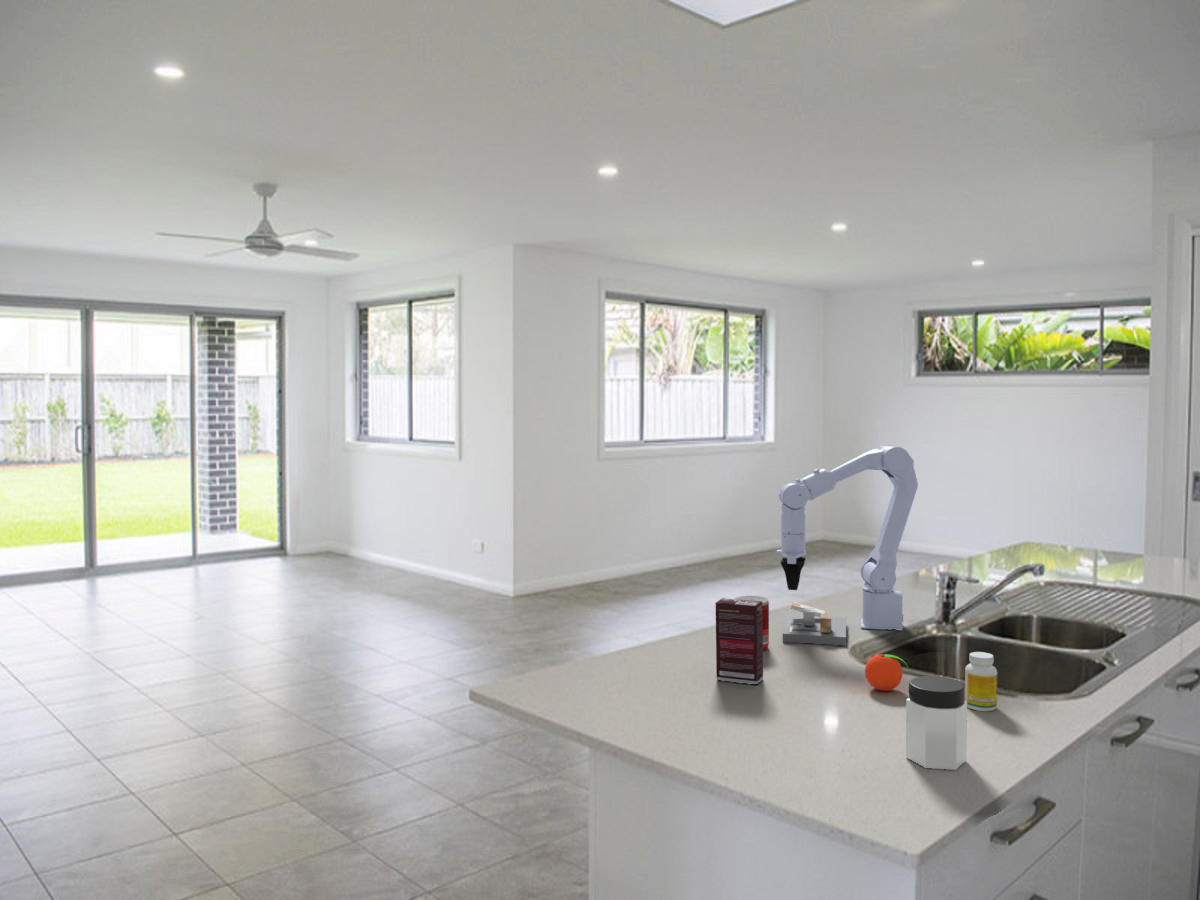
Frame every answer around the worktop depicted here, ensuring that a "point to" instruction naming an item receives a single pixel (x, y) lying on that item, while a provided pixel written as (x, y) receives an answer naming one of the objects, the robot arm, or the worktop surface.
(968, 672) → the supplement bottle
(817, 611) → the block
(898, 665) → the clementine
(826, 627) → the oak slider
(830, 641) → the console
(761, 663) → the supplement box
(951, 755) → the jar
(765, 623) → the canned food
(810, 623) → the steel slider
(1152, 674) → the worktop surface
